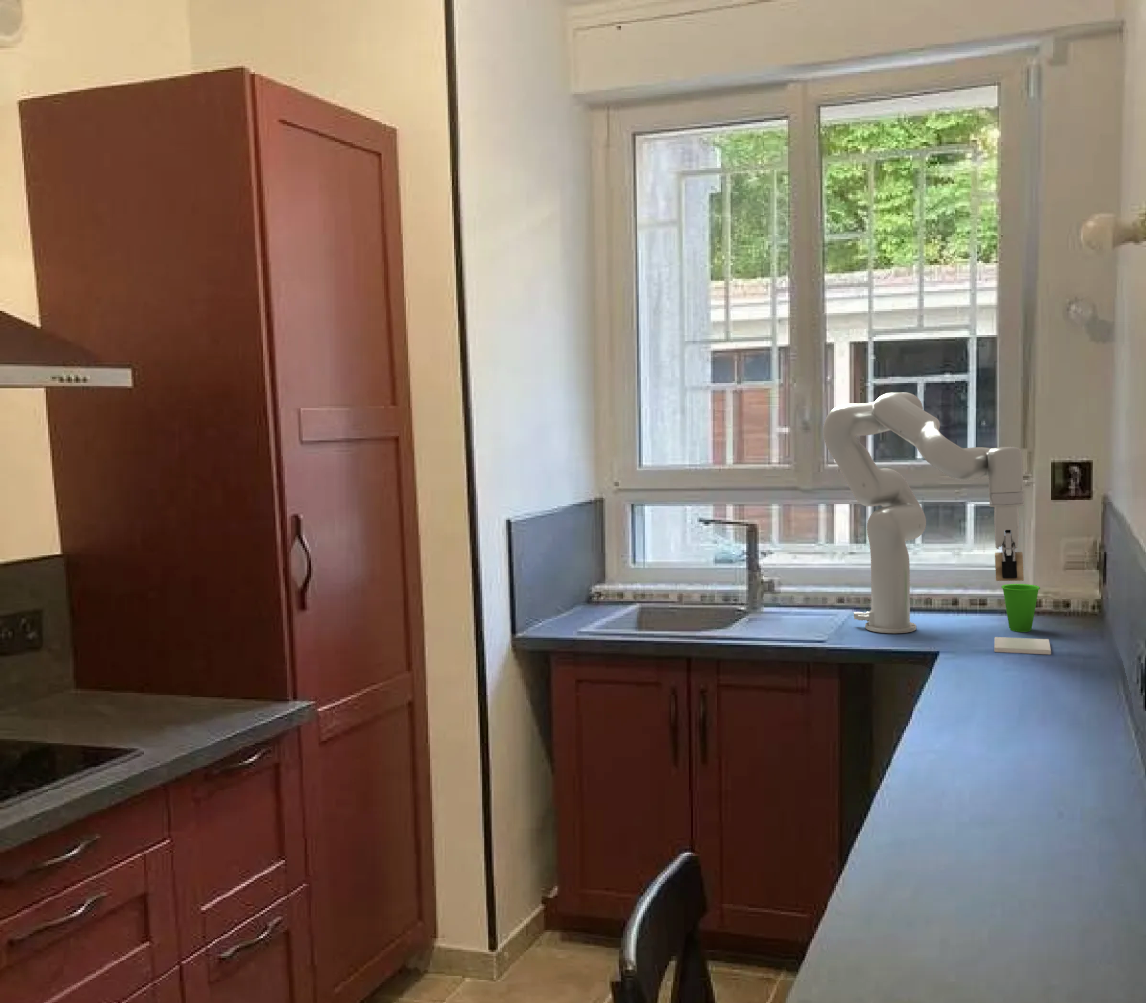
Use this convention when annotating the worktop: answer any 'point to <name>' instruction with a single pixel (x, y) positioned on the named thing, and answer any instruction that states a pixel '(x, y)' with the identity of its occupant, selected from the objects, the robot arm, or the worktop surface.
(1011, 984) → the worktop surface
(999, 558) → the block
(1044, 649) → the panel
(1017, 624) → the cup
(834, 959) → the worktop surface
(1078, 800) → the worktop surface
